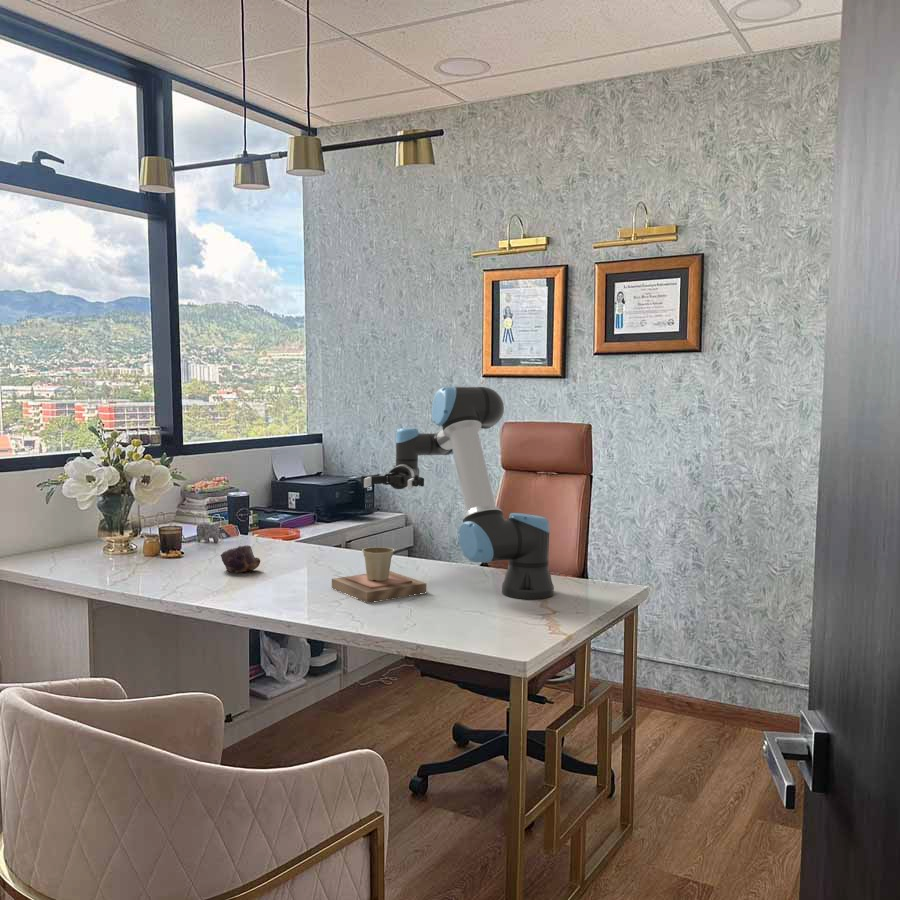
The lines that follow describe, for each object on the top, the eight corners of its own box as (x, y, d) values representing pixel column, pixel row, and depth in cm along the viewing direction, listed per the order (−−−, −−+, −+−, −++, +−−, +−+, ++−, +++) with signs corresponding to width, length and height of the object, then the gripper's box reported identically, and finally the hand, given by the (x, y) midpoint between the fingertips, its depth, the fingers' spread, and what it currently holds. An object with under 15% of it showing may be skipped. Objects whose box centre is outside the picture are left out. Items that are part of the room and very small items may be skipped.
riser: (388, 580, 259) (389, 569, 258) (426, 593, 243) (426, 581, 243) (331, 588, 247) (331, 576, 247) (366, 603, 231) (367, 590, 231)
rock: (235, 571, 274) (214, 576, 265) (232, 545, 274) (211, 549, 265) (264, 569, 269) (244, 574, 260) (261, 542, 269) (241, 547, 260)
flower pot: (375, 574, 251) (376, 545, 251) (400, 578, 246) (400, 549, 245) (355, 579, 244) (355, 550, 243) (380, 584, 238) (380, 554, 238)
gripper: (438, 489, 275) (427, 497, 254) (363, 486, 279) (347, 494, 258) (438, 466, 274) (427, 472, 253) (364, 464, 278) (347, 470, 257)
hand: (386, 484), depth 255 cm, fingers open, 13 cm apart
